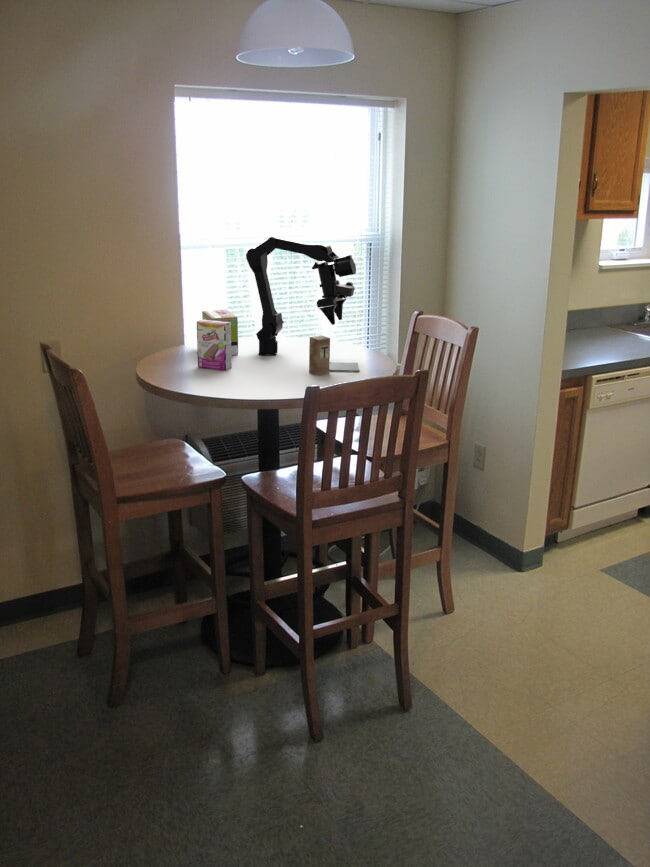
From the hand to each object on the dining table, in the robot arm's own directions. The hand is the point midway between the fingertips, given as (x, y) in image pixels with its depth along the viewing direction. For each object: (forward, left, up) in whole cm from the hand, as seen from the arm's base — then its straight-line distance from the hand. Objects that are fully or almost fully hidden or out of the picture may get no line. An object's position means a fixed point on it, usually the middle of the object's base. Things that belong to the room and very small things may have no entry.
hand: (337, 322), depth 277 cm
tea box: (-44, +10, -14) cm, 47 cm away
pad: (+2, -11, -14) cm, 18 cm away
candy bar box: (-43, -15, -14) cm, 48 cm away
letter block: (-6, -19, -14) cm, 24 cm away
